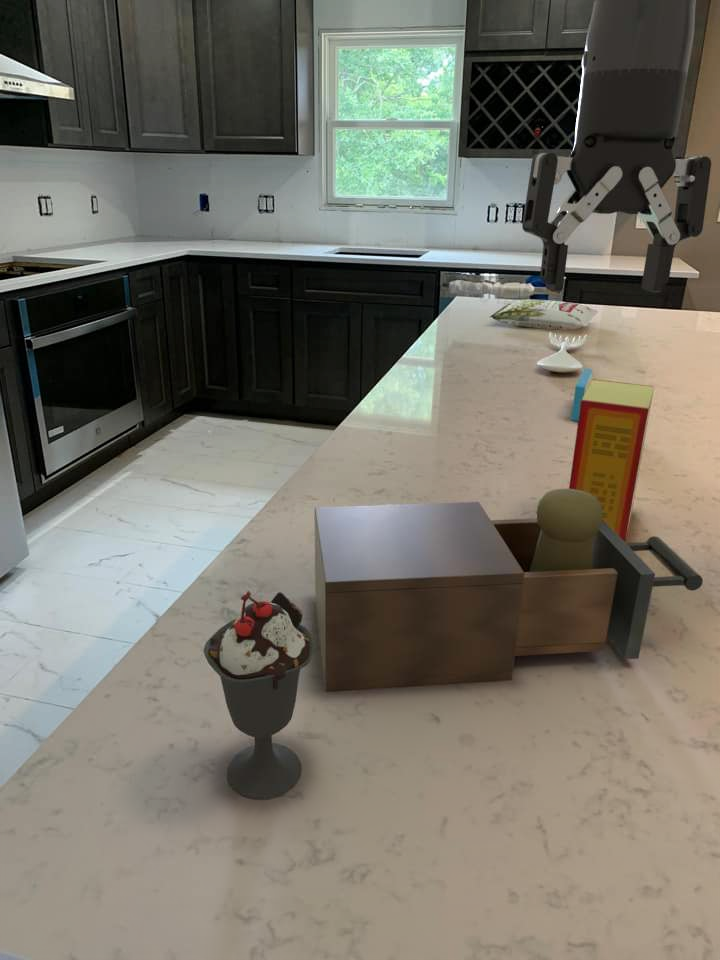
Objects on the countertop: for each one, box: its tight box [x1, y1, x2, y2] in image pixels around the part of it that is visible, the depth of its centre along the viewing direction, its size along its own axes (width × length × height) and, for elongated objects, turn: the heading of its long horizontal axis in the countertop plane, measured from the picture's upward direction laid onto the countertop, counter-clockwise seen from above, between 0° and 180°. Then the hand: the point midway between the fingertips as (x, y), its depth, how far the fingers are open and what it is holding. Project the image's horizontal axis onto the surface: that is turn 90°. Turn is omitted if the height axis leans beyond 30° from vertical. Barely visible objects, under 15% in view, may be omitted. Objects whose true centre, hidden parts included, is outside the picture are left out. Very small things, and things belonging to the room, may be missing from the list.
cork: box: [530, 488, 603, 572], centre depth 61 cm, size 6×6×11 cm
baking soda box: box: [568, 378, 655, 543], centre depth 81 cm, size 10×6×16 cm
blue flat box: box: [570, 368, 594, 422], centre depth 123 cm, size 12×2×6 cm, turn 158°
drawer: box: [490, 518, 704, 660], centre depth 62 cm, size 19×12×8 cm, turn 97°
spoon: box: [536, 331, 588, 374], centre depth 158 cm, size 9×32×4 cm, turn 162°
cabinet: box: [314, 501, 525, 693], centre depth 61 cm, size 15×13×10 cm
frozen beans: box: [489, 298, 600, 331], centre depth 195 cm, size 21×6×25 cm
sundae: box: [203, 590, 314, 801], centre depth 46 cm, size 7×7×15 cm
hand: (602, 290), depth 61 cm, fingers open, 8 cm apart
